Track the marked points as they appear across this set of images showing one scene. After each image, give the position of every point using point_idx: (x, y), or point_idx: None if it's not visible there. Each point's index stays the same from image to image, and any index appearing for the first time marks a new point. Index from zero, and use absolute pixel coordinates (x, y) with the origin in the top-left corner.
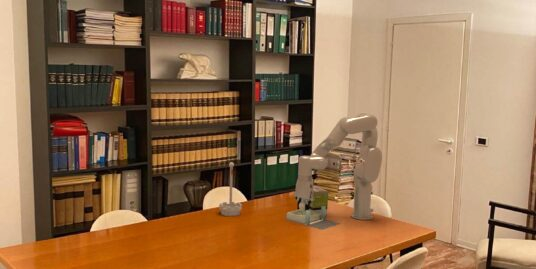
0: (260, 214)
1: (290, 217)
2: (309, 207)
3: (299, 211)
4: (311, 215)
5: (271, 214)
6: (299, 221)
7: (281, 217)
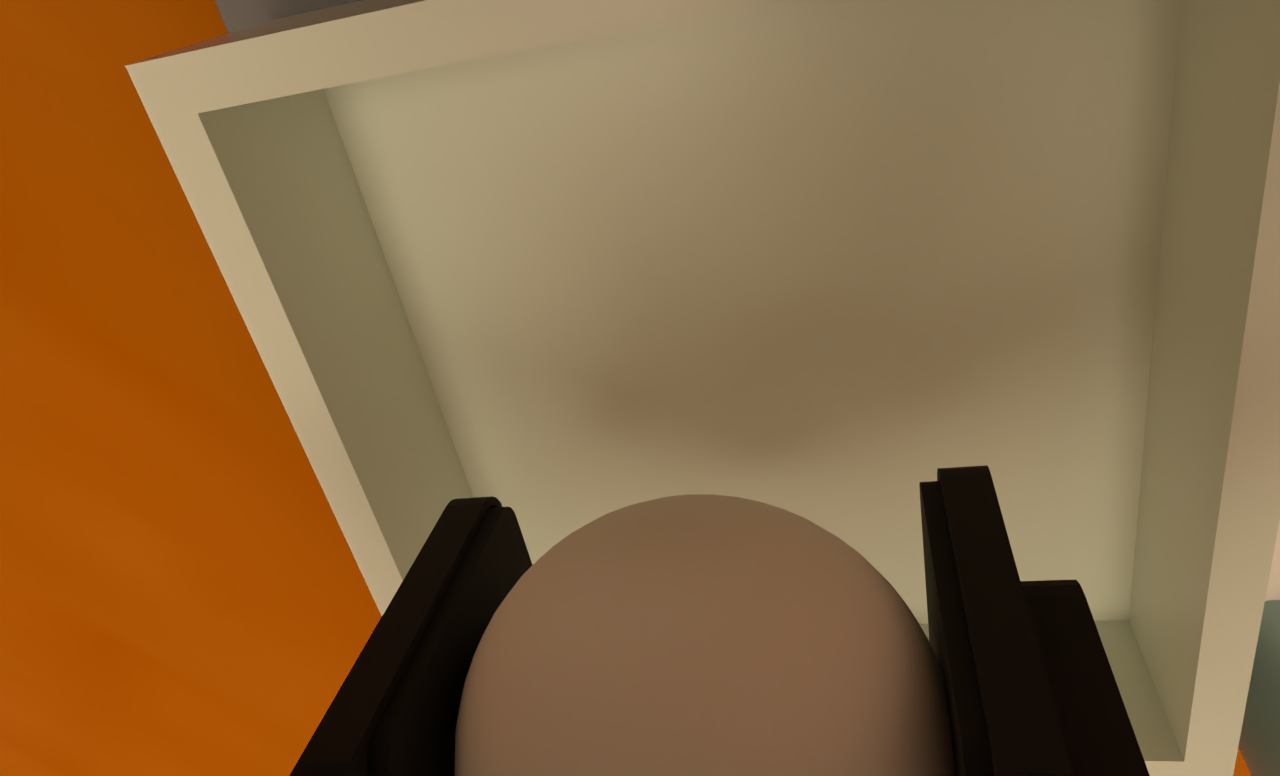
0: (28, 729)
1: None
2: (1102, 660)
3: (306, 259)
4: (1232, 483)
5: (57, 608)
6: None
7: (334, 612)
